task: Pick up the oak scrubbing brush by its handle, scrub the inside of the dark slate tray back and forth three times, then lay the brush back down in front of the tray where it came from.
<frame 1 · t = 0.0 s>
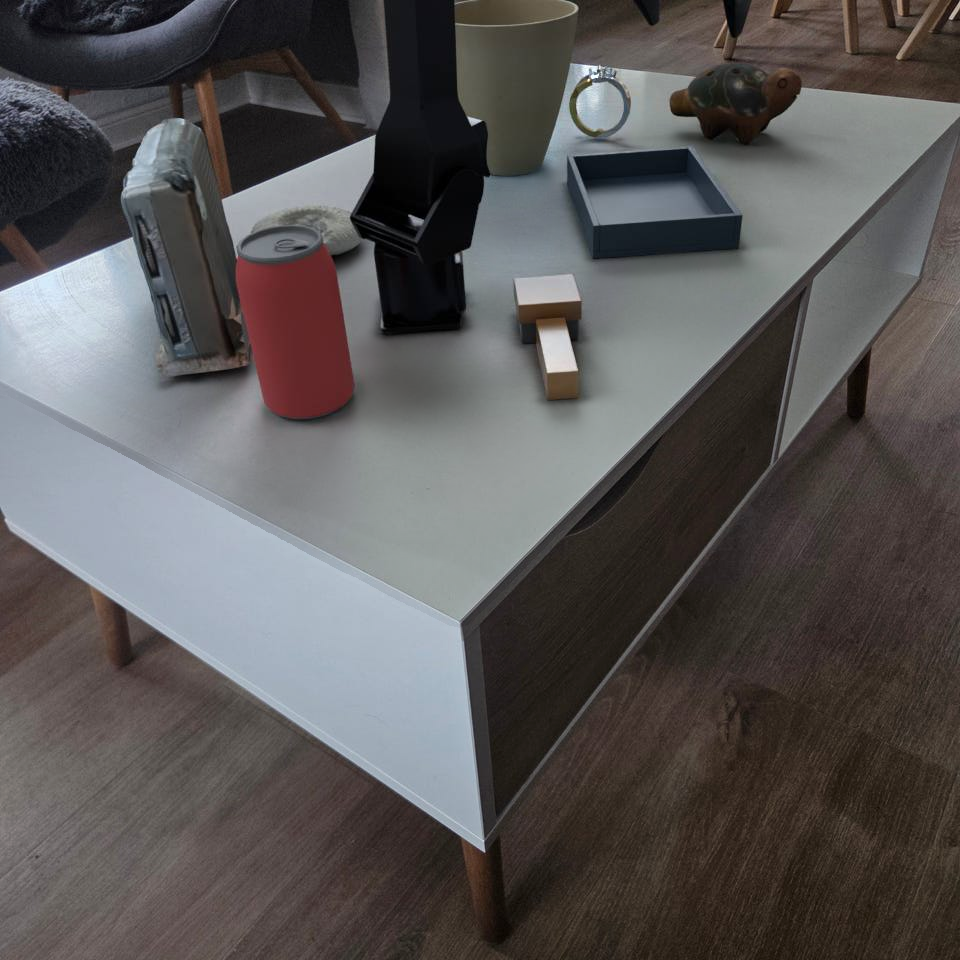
hand: (694, 29, 85), 15 cm above the table, tool pointing down, fingers open, 9 cm apart
beer can: (311, 401, 67), on the table
radio: (204, 317, 79), on the table
ring: (599, 140, 110), on the table
plant pot: (511, 166, 104), on the table
fossil: (307, 252, 88), on the table
tray: (645, 213, 91), on the table
brush: (552, 353, 70), on the table
decorative turtle: (729, 136, 109), on the table
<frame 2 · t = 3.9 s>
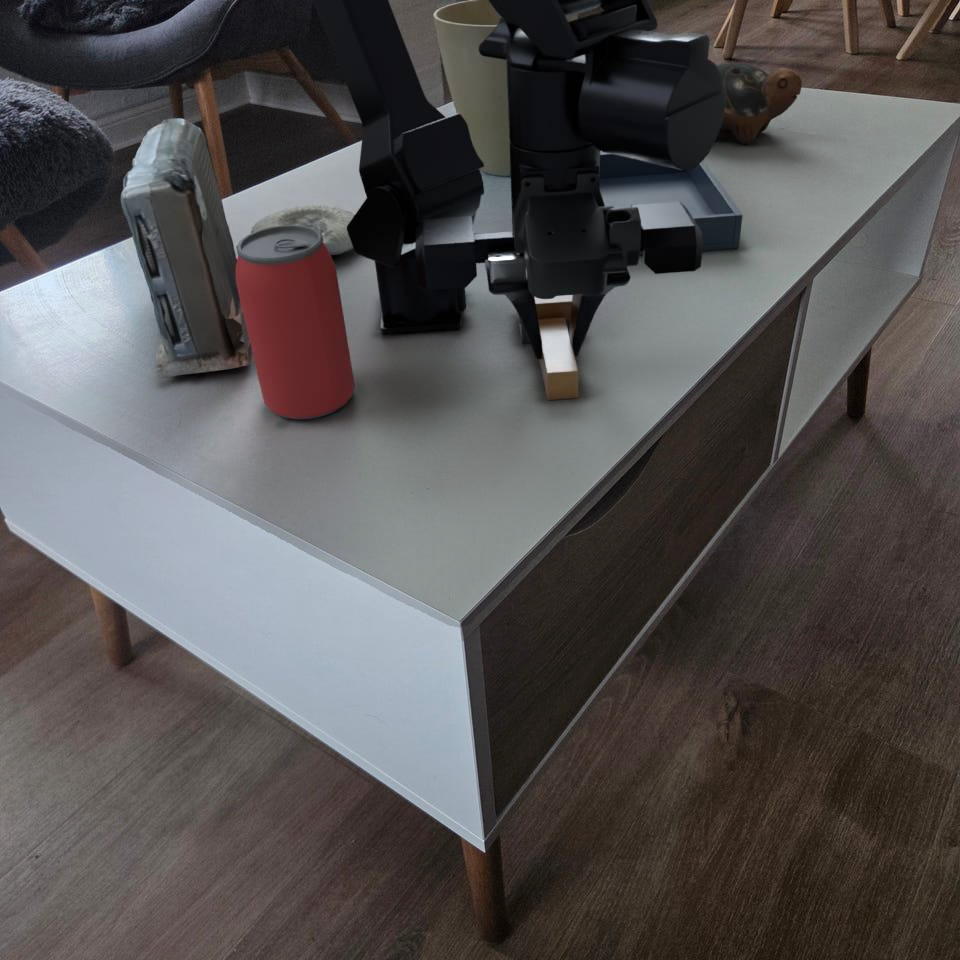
hand: (556, 355, 67), 1 cm above the table, tool pointing down, fingers closed on brush, 2 cm apart
brush: (552, 353, 70), on the table, touching gripper
everything else where it was.
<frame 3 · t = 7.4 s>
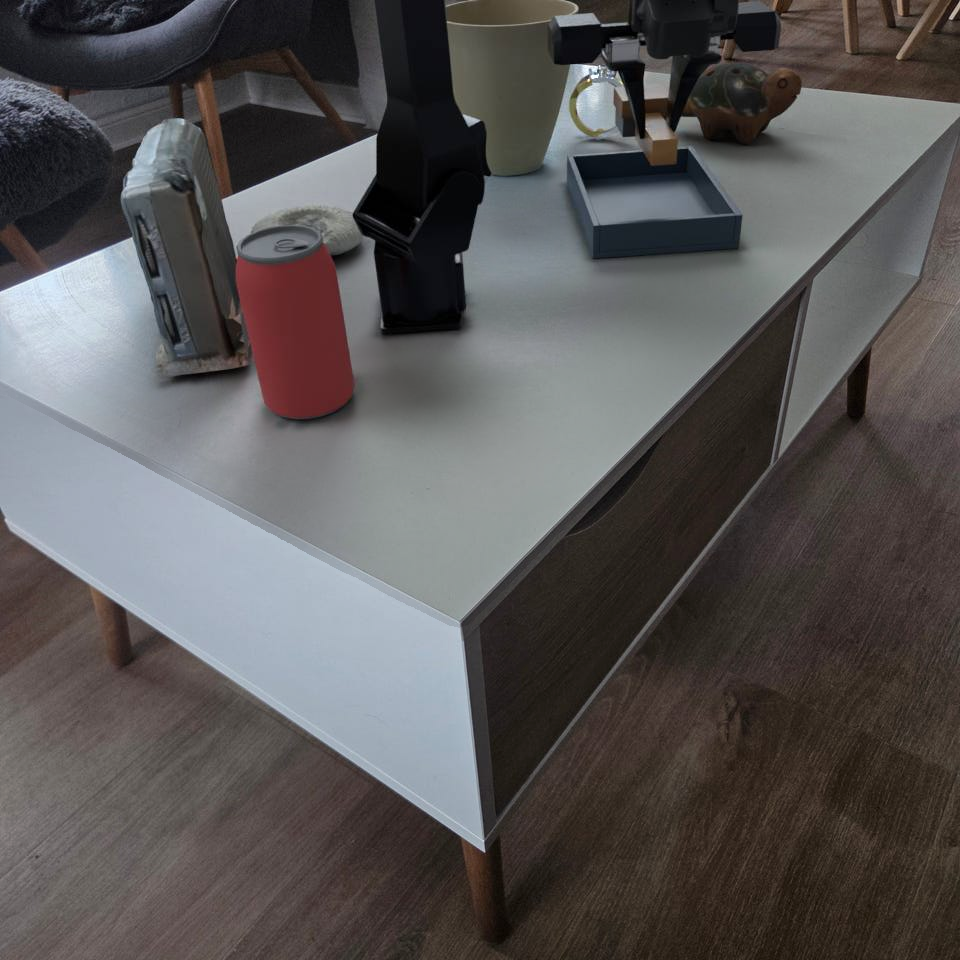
hand: (655, 136, 83), 8 cm above the table, tool pointing down, fingers closed on brush, 2 cm apart
brush: (649, 141, 86), point 7 cm above the table, touching gripper
everything else where it was.
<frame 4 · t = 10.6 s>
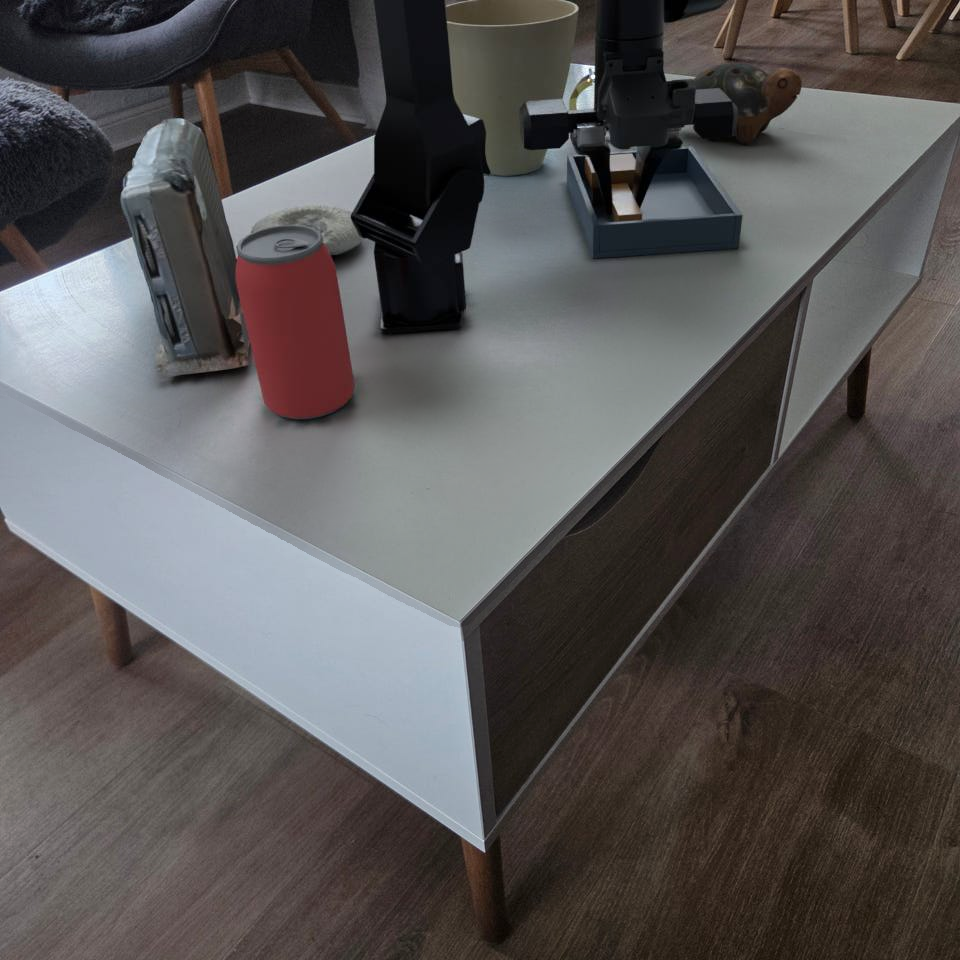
hand: (622, 212, 88), 1 cm above the table, tool pointing down, fingers closed on brush, 2 cm apart
brush: (617, 211, 90), point 1 cm above the table, touching gripper
everything else where it was.
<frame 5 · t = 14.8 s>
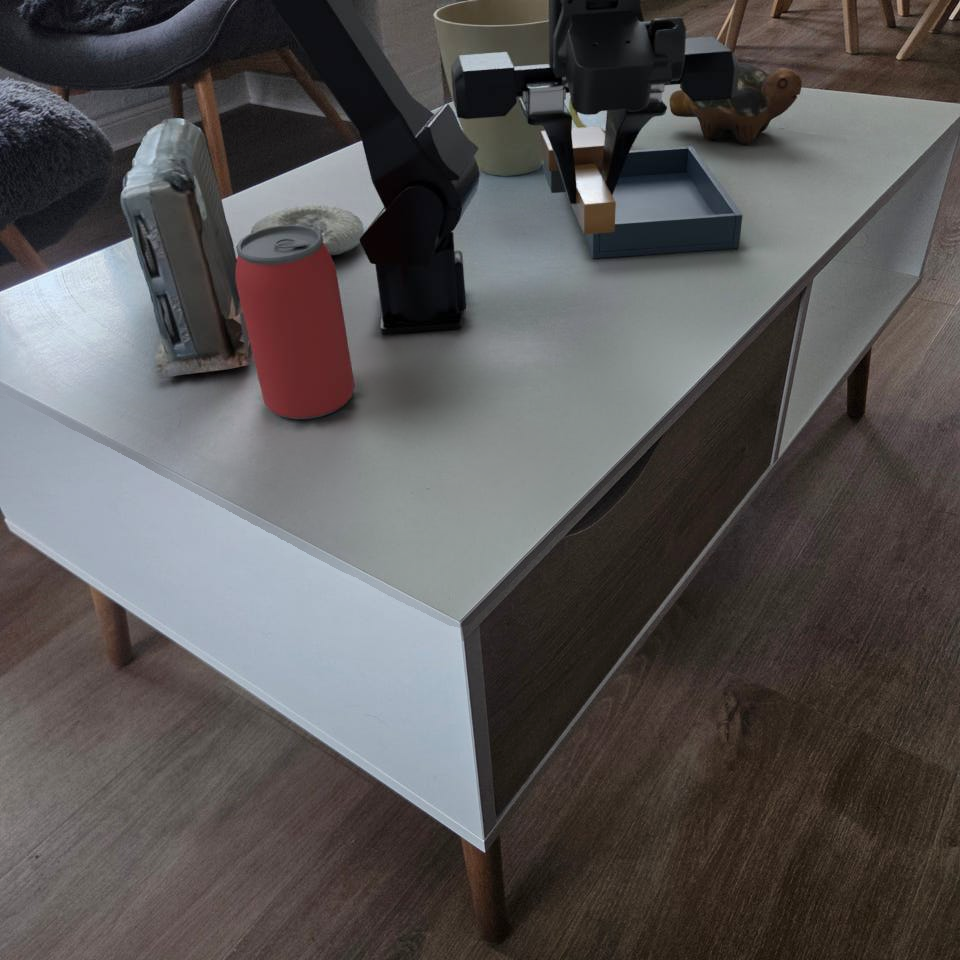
hand: (588, 201, 68), 10 cm above the table, tool pointing down, fingers closed on brush, 2 cm apart
brush: (583, 199, 70), point 9 cm above the table, touching gripper
everything else where it was.
when the fingers open (1 cm above the table, at t = 17.8 s): brush stays where it is, on the table.
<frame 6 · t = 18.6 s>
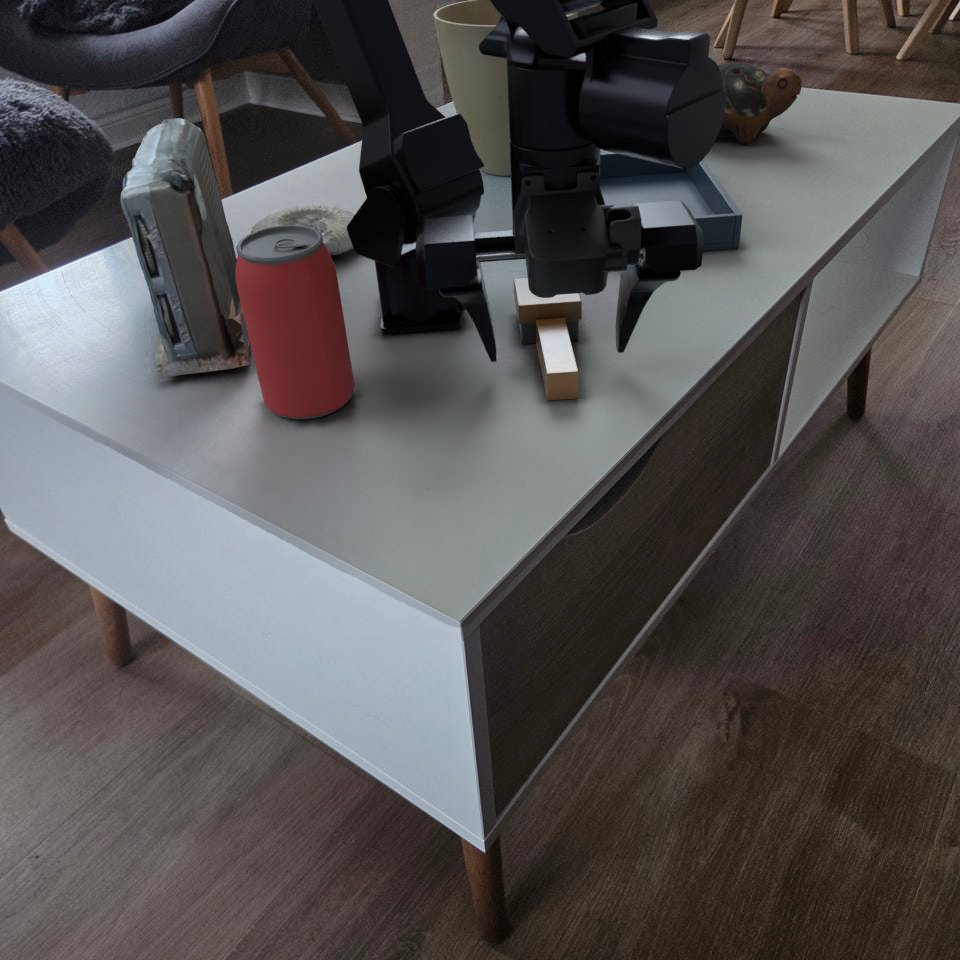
hand: (556, 354, 67), 1 cm above the table, tool pointing down, fingers open, 9 cm apart
brush: (552, 353, 70), on the table
everything else where it was.
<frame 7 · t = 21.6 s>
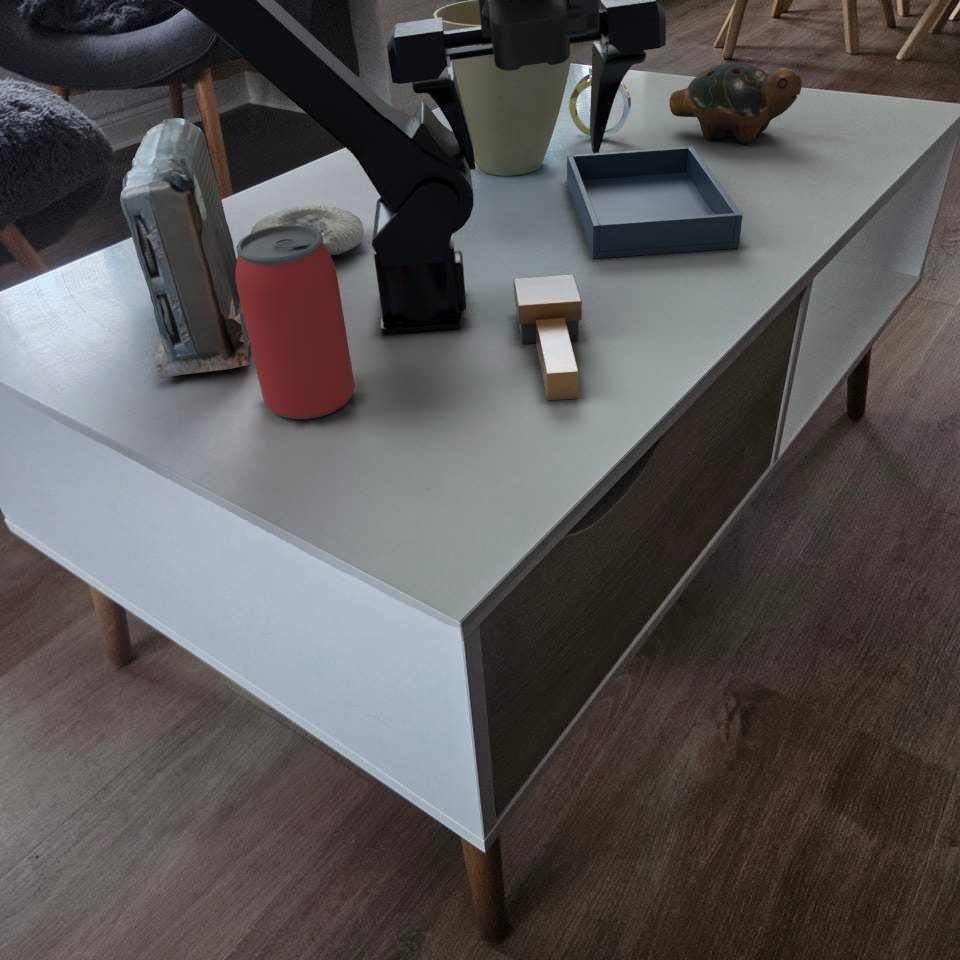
hand: (533, 159, 69), 12 cm above the table, tool pointing down, fingers open, 9 cm apart
nothing on the table moved.
at the end: brush inside the target area on the table beside the tray (0.1 cm from its centre), on the table; brush tilted 0°; the gripper is holding nothing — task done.
